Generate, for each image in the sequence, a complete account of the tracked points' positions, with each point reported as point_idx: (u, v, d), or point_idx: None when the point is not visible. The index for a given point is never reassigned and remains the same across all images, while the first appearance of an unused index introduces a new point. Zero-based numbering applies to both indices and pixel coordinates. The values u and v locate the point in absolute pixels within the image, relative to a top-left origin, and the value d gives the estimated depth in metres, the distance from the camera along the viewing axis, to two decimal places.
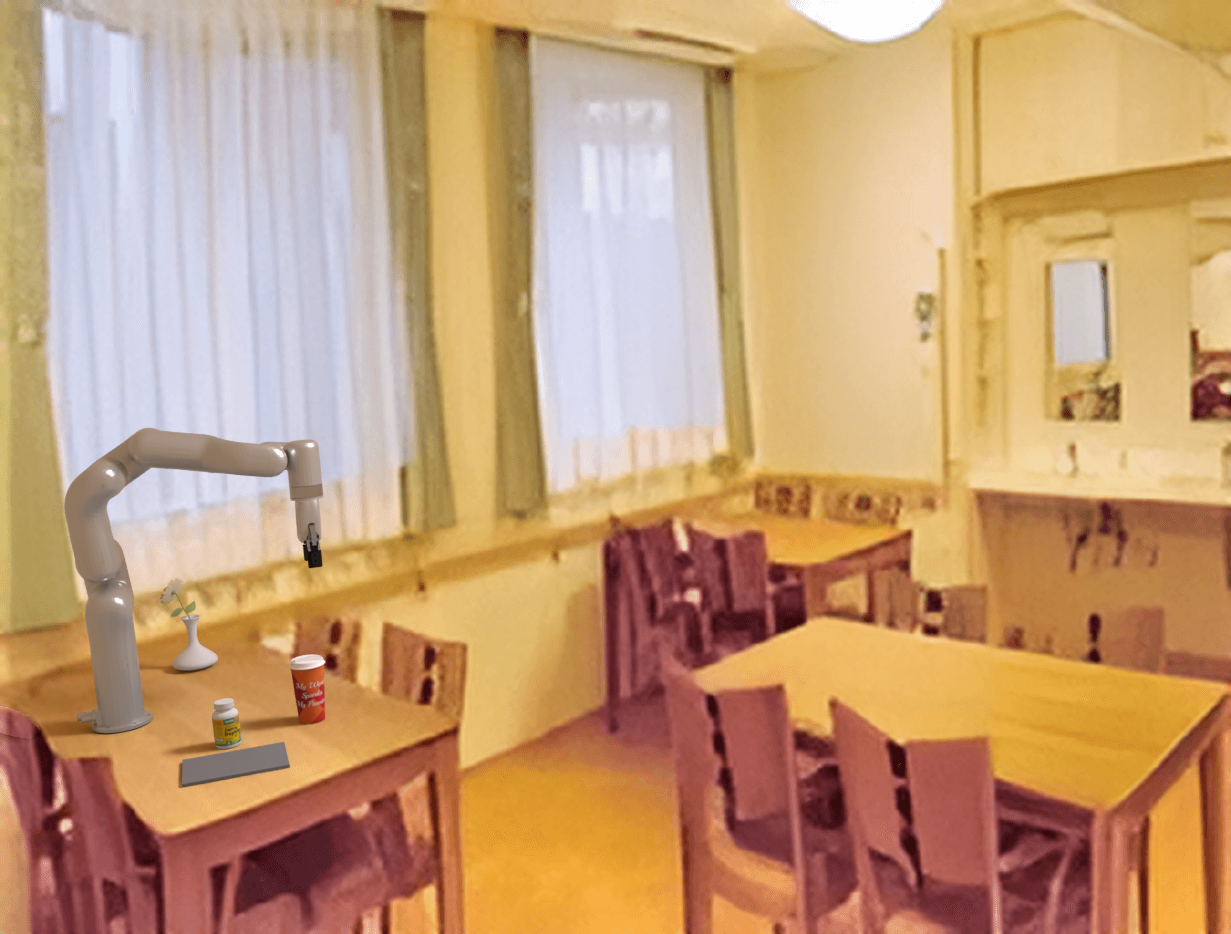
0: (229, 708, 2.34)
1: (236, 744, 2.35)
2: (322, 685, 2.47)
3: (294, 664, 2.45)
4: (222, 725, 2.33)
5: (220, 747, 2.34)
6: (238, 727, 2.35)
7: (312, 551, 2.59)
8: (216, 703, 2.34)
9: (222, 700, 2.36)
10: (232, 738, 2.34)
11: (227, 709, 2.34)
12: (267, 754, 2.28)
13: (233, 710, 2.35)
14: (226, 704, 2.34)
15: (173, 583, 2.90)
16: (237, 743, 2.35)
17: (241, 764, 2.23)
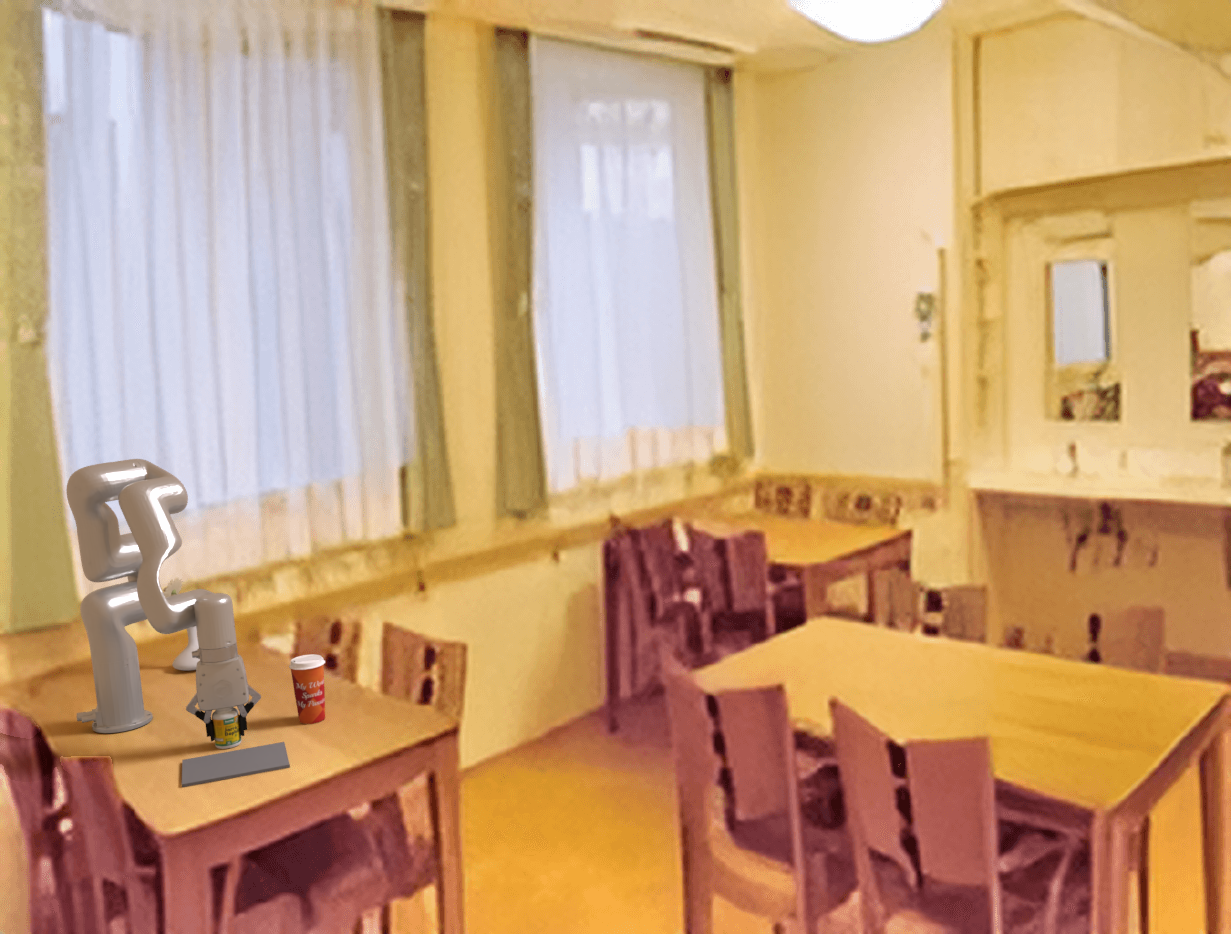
0: (229, 708, 2.34)
1: (236, 744, 2.35)
2: (322, 685, 2.47)
3: (294, 664, 2.45)
4: (222, 725, 2.33)
5: (220, 747, 2.34)
6: (238, 727, 2.35)
7: None
8: None
9: None
10: (232, 738, 2.34)
11: (227, 709, 2.34)
12: (267, 754, 2.28)
13: (233, 710, 2.35)
14: None
15: (173, 583, 2.90)
16: (237, 743, 2.35)
17: (241, 764, 2.23)
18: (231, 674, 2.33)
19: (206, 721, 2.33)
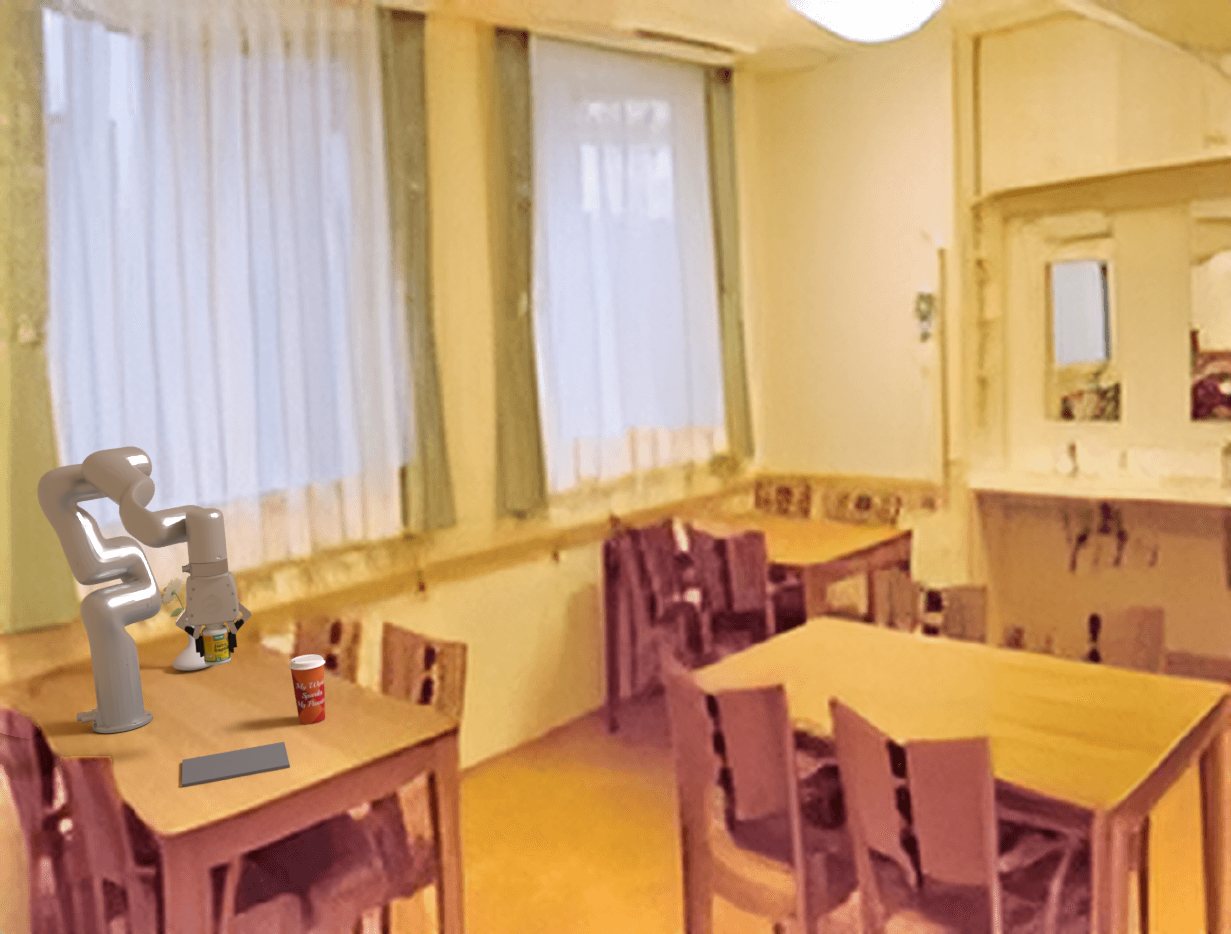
0: (219, 624, 2.32)
1: (225, 661, 2.33)
2: (322, 685, 2.47)
3: (294, 664, 2.45)
4: (211, 641, 2.31)
5: (209, 663, 2.32)
6: (227, 644, 2.33)
7: (236, 632, 2.35)
8: None
9: None
10: (222, 654, 2.32)
11: (217, 626, 2.32)
12: (267, 754, 2.28)
13: (223, 627, 2.33)
14: None
15: (173, 583, 2.90)
16: (226, 660, 2.33)
17: (241, 764, 2.23)
18: (221, 589, 2.31)
19: (195, 637, 2.31)
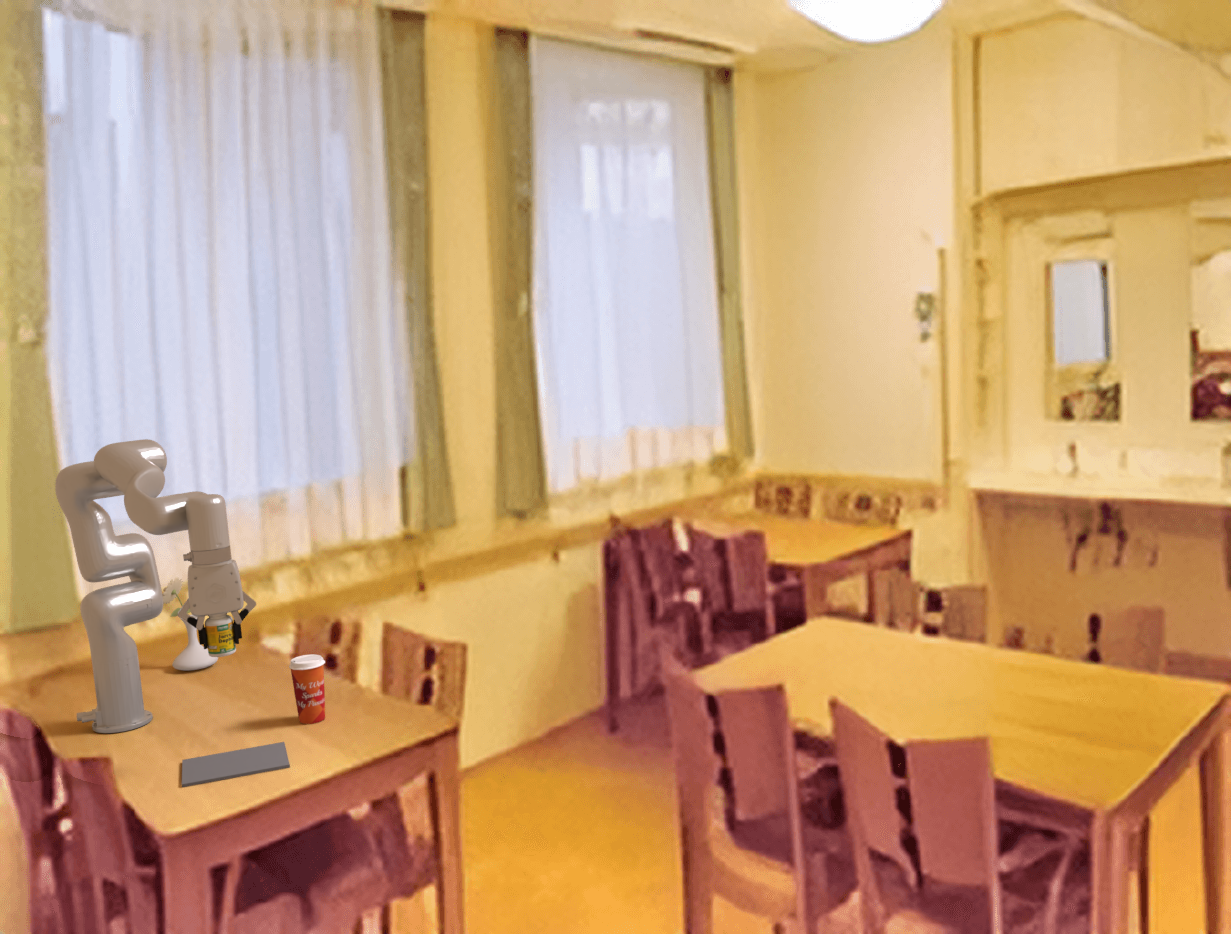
0: (223, 614, 2.24)
1: (230, 652, 2.24)
2: (322, 685, 2.47)
3: (294, 664, 2.45)
4: (215, 632, 2.22)
5: (214, 655, 2.23)
6: (232, 634, 2.25)
7: (240, 622, 2.26)
8: None
9: None
10: (227, 646, 2.23)
11: (221, 615, 2.23)
12: (267, 754, 2.28)
13: (227, 616, 2.24)
14: None
15: (173, 583, 2.90)
16: (231, 651, 2.24)
17: (241, 764, 2.23)
18: (225, 578, 2.22)
19: (199, 628, 2.22)
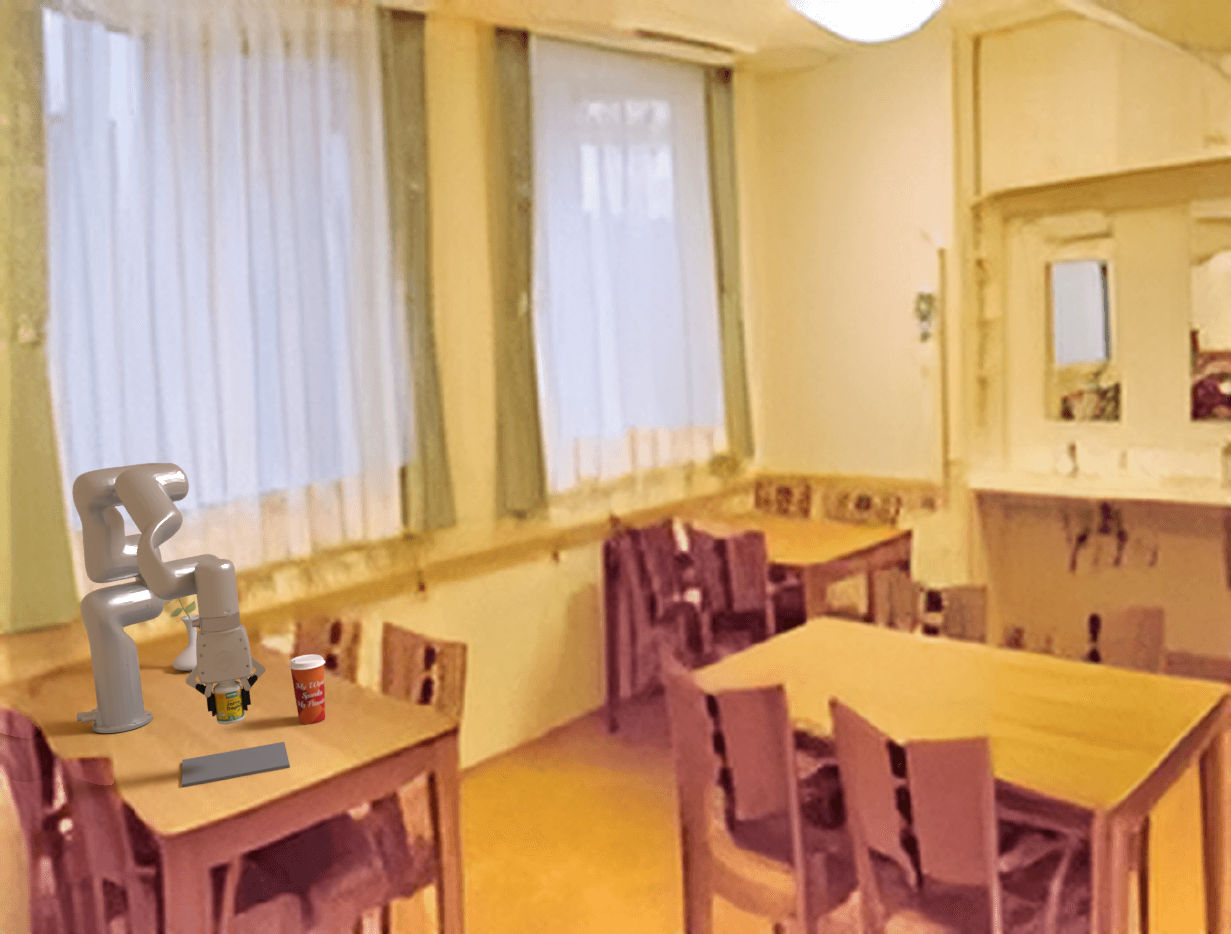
0: (231, 681, 2.20)
1: (239, 719, 2.21)
2: (322, 685, 2.47)
3: (294, 664, 2.45)
4: (224, 699, 2.19)
5: (222, 722, 2.20)
6: (241, 701, 2.22)
7: (249, 689, 2.23)
8: None
9: None
10: (235, 713, 2.20)
11: (230, 682, 2.20)
12: (267, 754, 2.28)
13: (236, 683, 2.21)
14: None
15: None
16: (240, 718, 2.21)
17: (241, 764, 2.23)
18: (233, 645, 2.19)
19: (207, 695, 2.19)
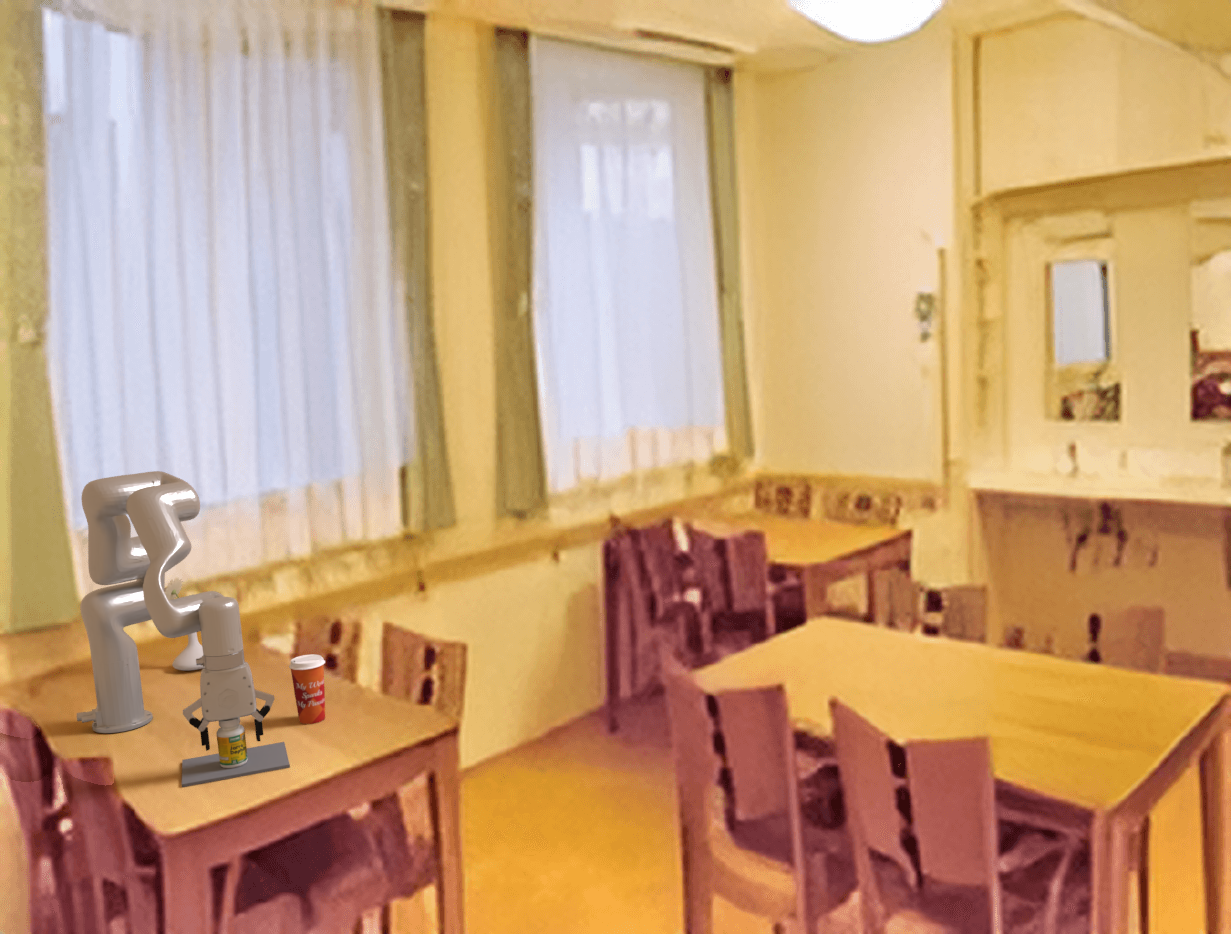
0: (235, 725, 2.22)
1: (242, 763, 2.22)
2: (322, 685, 2.47)
3: (294, 664, 2.45)
4: (227, 743, 2.20)
5: (225, 766, 2.21)
6: (244, 745, 2.23)
7: None
8: (221, 720, 2.21)
9: None
10: (238, 757, 2.22)
11: (233, 726, 2.21)
12: (267, 754, 2.28)
13: (239, 727, 2.22)
14: (232, 721, 2.21)
15: (173, 583, 2.90)
16: (243, 762, 2.22)
17: None
18: (237, 683, 2.20)
19: (201, 729, 2.20)
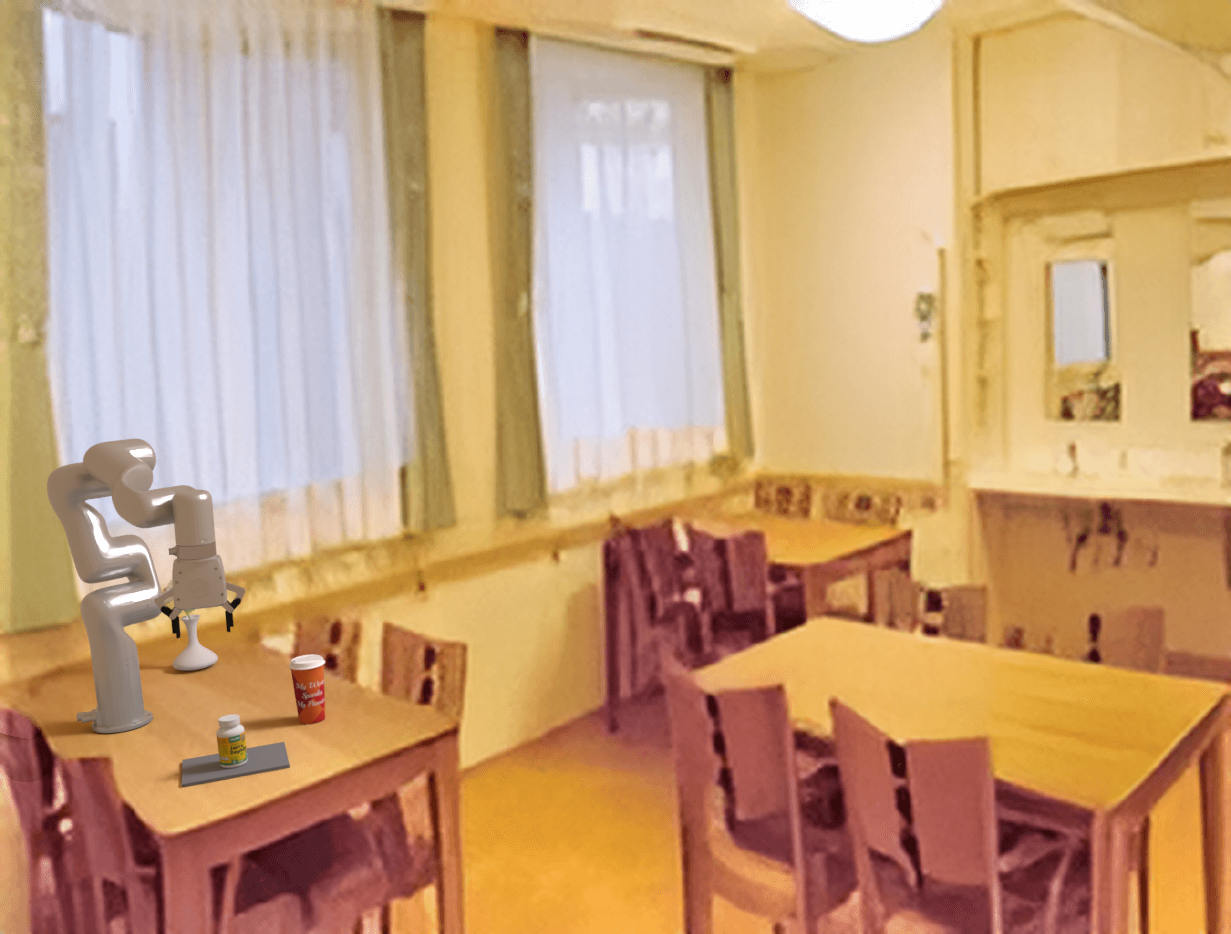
0: (235, 725, 2.22)
1: (242, 763, 2.22)
2: (322, 685, 2.47)
3: (294, 664, 2.45)
4: (227, 743, 2.20)
5: (225, 766, 2.21)
6: (244, 745, 2.23)
7: (232, 611, 2.29)
8: (221, 720, 2.21)
9: (227, 716, 2.23)
10: (238, 757, 2.22)
11: (233, 726, 2.21)
12: (267, 754, 2.28)
13: (239, 727, 2.22)
14: (232, 721, 2.21)
15: None
16: (243, 762, 2.22)
17: None
18: (209, 573, 2.24)
19: (172, 617, 2.24)
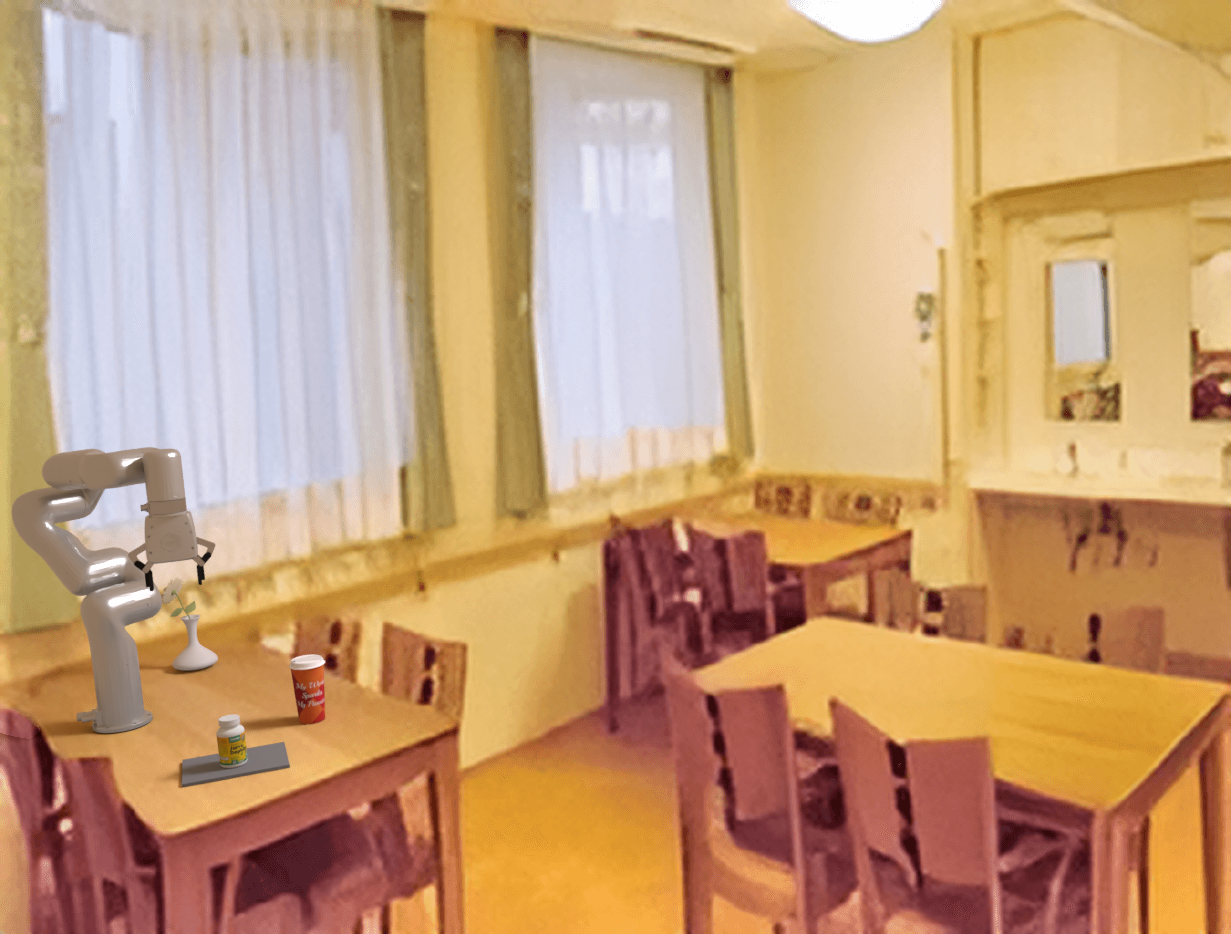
0: (235, 725, 2.22)
1: (242, 763, 2.22)
2: (322, 685, 2.47)
3: (294, 664, 2.45)
4: (227, 743, 2.20)
5: (225, 766, 2.21)
6: (244, 745, 2.23)
7: (203, 565, 2.39)
8: (221, 720, 2.21)
9: (227, 716, 2.23)
10: (238, 757, 2.22)
11: (233, 726, 2.21)
12: (267, 754, 2.28)
13: (239, 727, 2.22)
14: (232, 721, 2.21)
15: (173, 583, 2.90)
16: (243, 762, 2.22)
17: None
18: (179, 527, 2.35)
19: (145, 571, 2.35)
